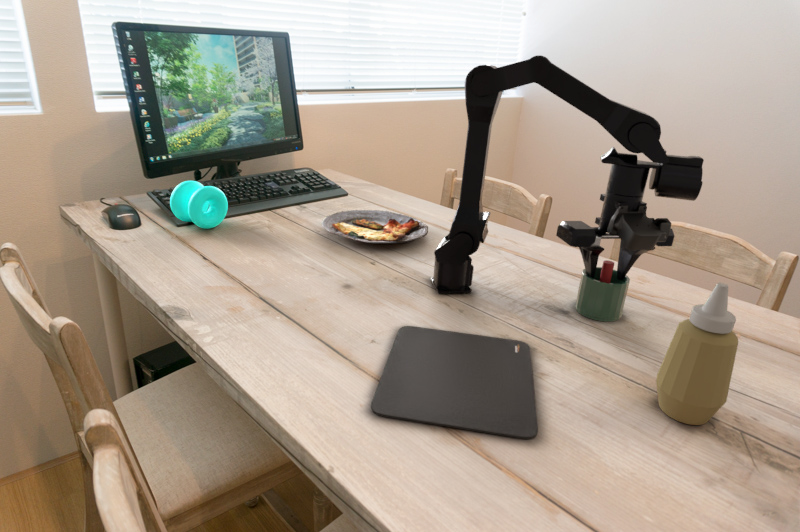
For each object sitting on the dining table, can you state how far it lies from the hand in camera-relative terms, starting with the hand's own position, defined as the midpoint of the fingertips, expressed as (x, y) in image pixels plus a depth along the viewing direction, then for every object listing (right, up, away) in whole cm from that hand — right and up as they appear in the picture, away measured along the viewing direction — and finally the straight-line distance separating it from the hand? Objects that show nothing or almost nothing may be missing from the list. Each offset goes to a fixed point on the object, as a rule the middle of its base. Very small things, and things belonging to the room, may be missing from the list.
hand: (604, 280), depth 92 cm
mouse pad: (-28, -13, -19) cm, 36 cm away
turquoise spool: (-83, +12, +34) cm, 91 cm away
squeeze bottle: (+1, -17, -24) cm, 29 cm away
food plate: (-44, +12, +30) cm, 55 cm away
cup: (0, -6, +2) cm, 6 cm away
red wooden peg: (0, -5, +2) cm, 6 cm away
